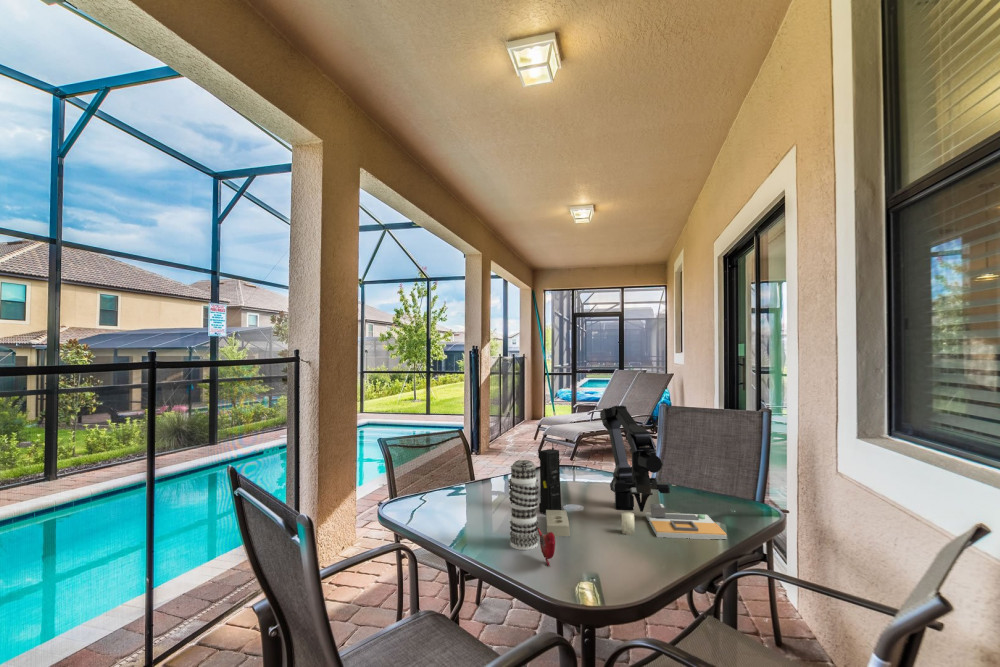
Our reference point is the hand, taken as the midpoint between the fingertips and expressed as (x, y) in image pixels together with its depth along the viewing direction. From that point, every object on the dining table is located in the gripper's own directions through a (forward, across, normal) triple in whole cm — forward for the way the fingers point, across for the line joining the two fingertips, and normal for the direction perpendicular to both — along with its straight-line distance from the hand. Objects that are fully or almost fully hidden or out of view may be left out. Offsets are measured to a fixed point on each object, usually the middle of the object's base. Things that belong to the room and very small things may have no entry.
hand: (641, 511), depth 162 cm
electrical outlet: (+4, -29, -10) cm, 31 cm away
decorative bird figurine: (+3, -32, -38) cm, 50 cm away
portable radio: (+3, -32, +5) cm, 33 cm away
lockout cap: (+3, -6, -13) cm, 15 cm away
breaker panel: (+3, +13, -6) cm, 14 cm away
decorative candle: (+3, -39, -27) cm, 48 cm away
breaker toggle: (+1, +6, 0) cm, 6 cm away
